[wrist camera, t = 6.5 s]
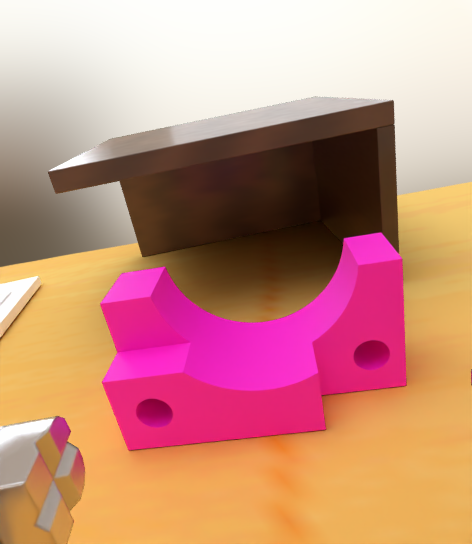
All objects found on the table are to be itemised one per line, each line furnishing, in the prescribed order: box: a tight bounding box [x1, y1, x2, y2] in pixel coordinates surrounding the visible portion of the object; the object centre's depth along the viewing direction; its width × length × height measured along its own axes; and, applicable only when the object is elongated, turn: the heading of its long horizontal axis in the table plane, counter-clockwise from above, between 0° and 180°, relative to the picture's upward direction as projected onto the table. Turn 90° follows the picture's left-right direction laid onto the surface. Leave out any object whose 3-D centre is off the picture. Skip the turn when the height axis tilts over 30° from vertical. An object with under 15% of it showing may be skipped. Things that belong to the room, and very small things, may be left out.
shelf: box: [48, 97, 399, 257], centre depth 39 cm, size 23×20×14 cm
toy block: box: [100, 233, 406, 450], centre depth 23 cm, size 15×6×8 cm, turn 87°
